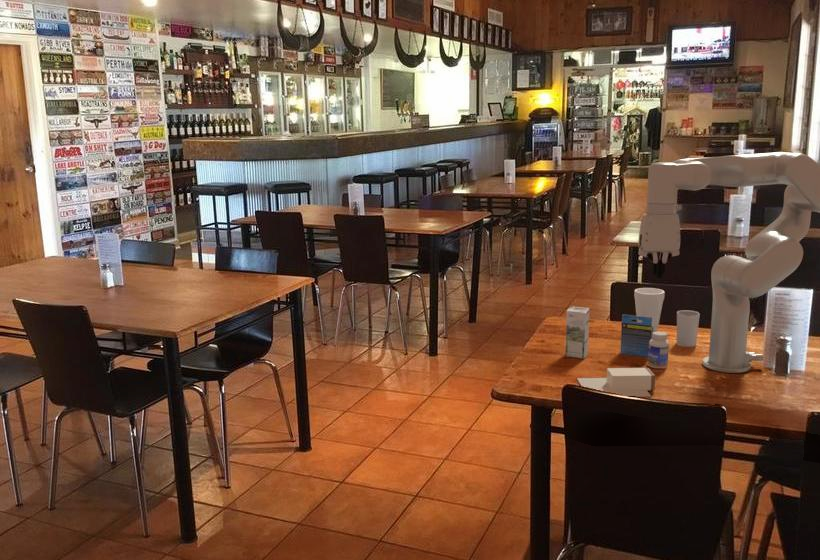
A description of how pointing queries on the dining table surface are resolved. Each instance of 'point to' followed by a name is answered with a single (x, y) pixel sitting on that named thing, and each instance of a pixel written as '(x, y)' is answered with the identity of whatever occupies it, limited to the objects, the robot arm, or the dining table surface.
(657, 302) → the foam cup
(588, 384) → the felt mat
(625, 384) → the tall block
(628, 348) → the label tape box
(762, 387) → the dining table surface
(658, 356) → the pill bottle
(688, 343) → the drinking glass
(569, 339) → the syrup box
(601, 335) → the dining table surface
